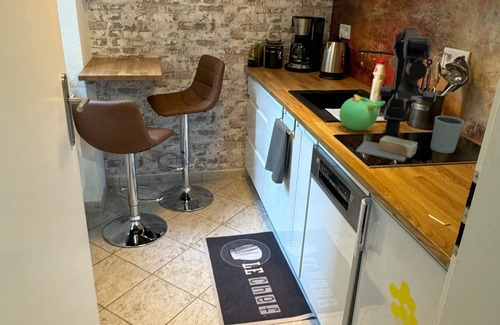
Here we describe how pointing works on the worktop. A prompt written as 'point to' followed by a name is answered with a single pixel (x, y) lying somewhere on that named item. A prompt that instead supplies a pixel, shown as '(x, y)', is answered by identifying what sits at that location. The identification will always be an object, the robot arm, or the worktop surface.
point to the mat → (378, 151)
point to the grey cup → (446, 133)
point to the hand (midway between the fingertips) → (403, 116)
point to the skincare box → (398, 146)
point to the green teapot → (359, 113)
